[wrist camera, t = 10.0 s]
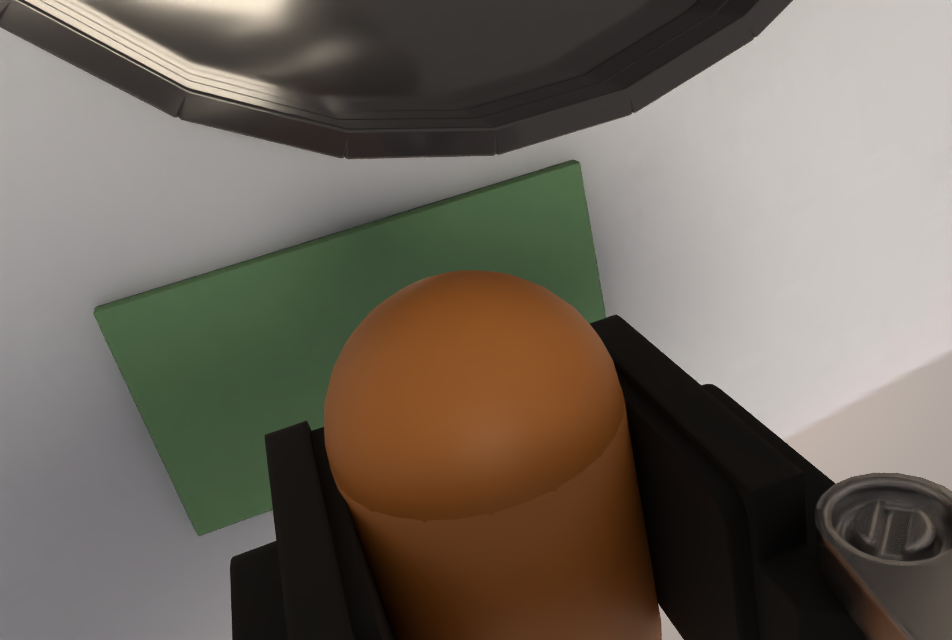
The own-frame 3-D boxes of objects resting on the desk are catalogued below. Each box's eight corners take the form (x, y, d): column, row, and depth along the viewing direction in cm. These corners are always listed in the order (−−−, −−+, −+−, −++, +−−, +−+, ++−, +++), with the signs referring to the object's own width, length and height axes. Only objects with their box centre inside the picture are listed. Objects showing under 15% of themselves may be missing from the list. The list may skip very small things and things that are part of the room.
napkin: (197, 529, 18) (197, 537, 18) (94, 307, 16) (92, 313, 16) (612, 379, 20) (617, 384, 20) (574, 159, 18) (580, 161, 17)
